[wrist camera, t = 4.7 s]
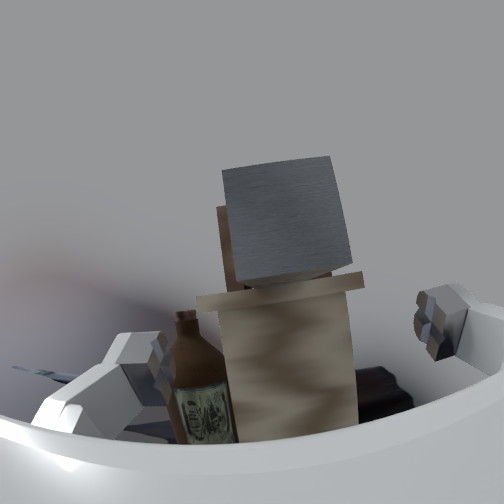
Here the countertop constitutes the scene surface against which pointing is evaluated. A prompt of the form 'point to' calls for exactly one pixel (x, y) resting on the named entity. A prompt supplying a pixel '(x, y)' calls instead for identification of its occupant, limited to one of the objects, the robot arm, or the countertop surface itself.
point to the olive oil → (199, 389)
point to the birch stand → (286, 351)
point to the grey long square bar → (285, 221)
